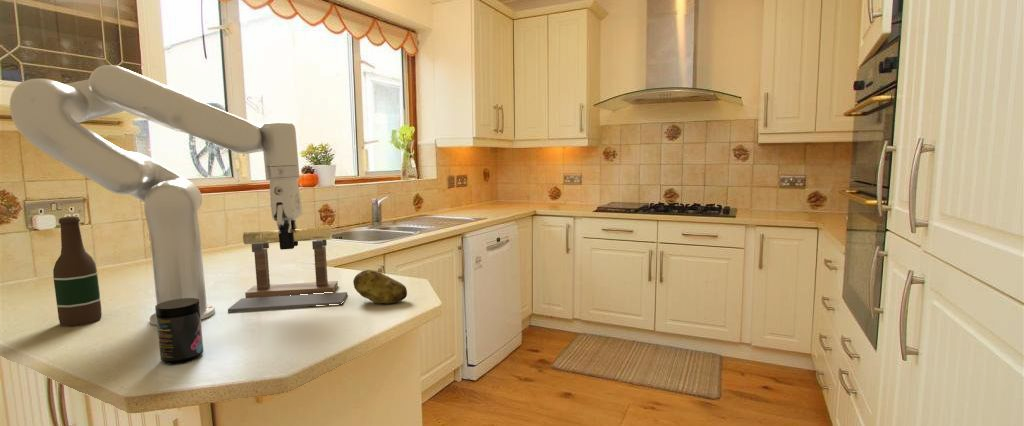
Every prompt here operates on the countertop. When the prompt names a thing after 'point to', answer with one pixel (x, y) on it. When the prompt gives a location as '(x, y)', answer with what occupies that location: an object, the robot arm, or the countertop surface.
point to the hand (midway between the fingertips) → (289, 246)
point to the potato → (379, 287)
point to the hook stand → (290, 289)
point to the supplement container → (179, 330)
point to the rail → (298, 234)
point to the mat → (287, 301)
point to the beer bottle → (75, 278)
